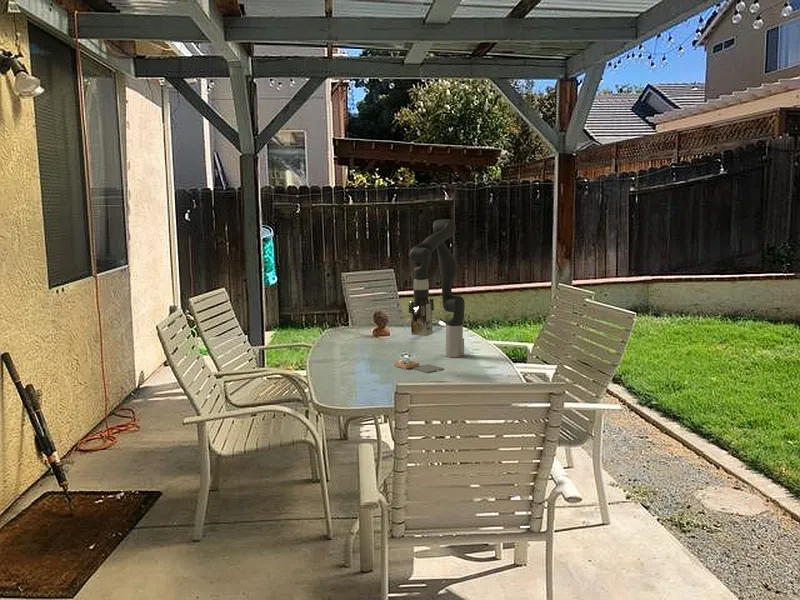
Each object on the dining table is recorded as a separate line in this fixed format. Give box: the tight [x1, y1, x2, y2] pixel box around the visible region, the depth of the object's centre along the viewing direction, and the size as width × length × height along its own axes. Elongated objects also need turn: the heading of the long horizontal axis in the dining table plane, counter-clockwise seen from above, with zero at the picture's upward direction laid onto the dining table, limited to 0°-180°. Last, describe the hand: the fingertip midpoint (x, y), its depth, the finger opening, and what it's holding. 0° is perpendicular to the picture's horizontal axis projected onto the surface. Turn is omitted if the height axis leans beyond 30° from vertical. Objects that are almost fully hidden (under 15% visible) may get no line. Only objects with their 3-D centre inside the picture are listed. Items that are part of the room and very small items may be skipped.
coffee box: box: [410, 302, 433, 337], centre depth 341 cm, size 9×6×16 cm
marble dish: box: [393, 359, 420, 370], centre depth 351 cm, size 9×9×2 cm
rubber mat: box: [411, 363, 445, 374], centre depth 346 cm, size 11×12×1 cm
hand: (421, 320), depth 341 cm, fingers closed on coffee box, 8 cm apart
